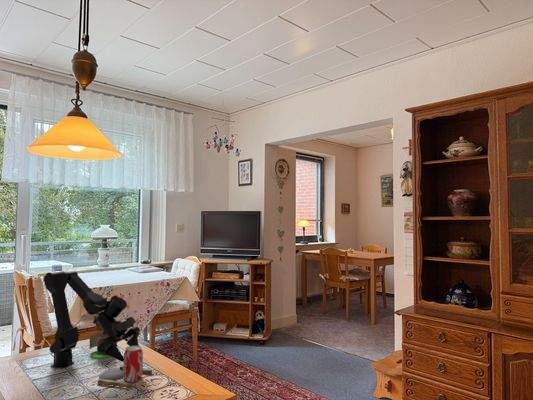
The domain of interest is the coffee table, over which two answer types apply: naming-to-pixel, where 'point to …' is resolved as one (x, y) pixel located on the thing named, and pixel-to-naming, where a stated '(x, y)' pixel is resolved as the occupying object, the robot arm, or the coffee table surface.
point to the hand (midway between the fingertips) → (131, 356)
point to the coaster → (111, 374)
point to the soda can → (133, 363)
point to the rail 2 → (146, 371)
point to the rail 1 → (115, 383)
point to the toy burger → (97, 342)
